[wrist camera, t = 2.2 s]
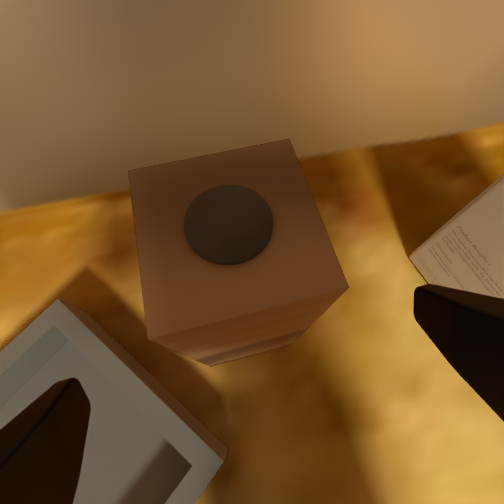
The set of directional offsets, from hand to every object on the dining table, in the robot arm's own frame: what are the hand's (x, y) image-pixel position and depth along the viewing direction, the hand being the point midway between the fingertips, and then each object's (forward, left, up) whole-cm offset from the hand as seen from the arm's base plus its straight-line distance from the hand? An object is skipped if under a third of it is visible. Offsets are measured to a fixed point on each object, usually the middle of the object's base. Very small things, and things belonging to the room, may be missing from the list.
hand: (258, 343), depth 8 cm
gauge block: (+2, -2, -11) cm, 11 cm away
